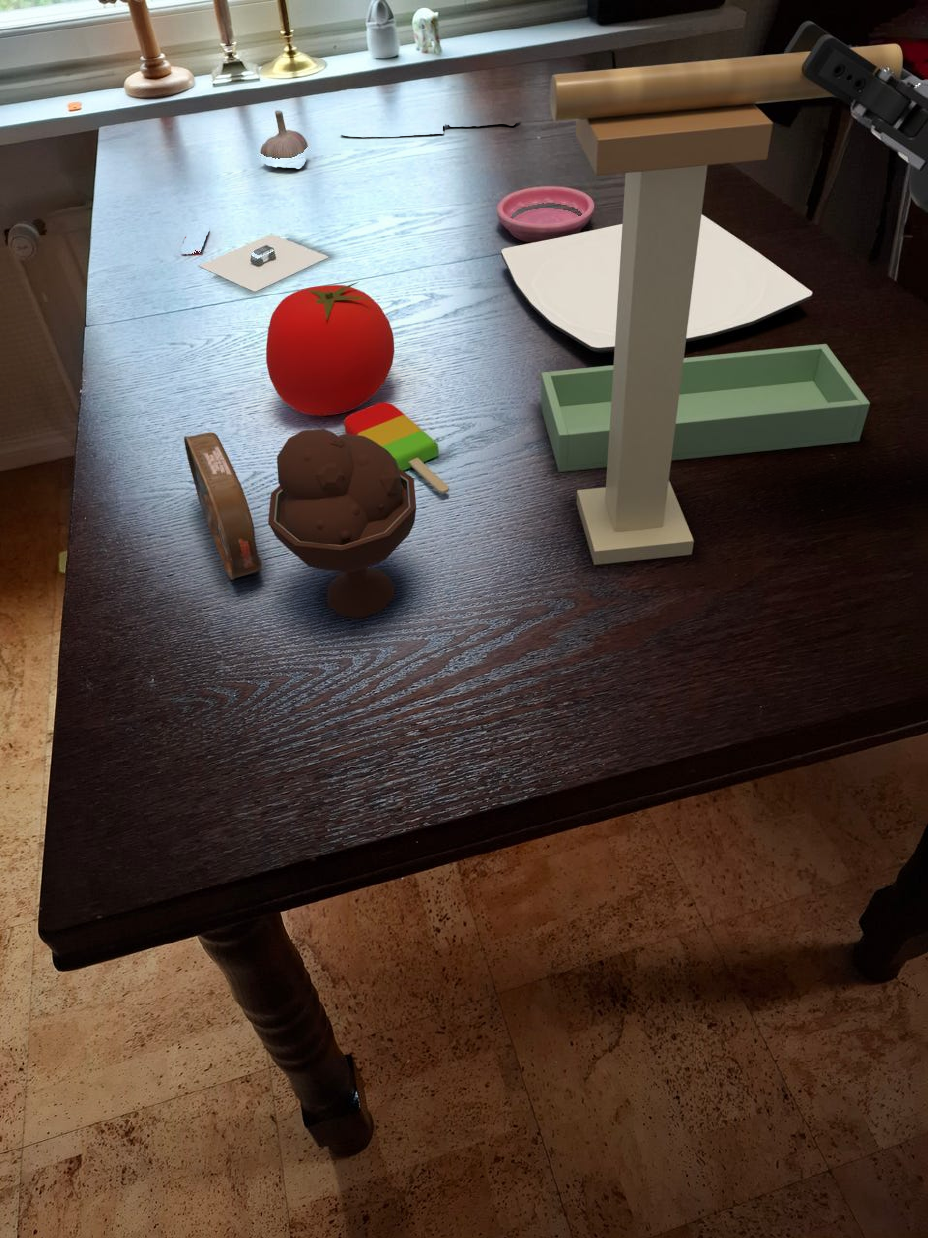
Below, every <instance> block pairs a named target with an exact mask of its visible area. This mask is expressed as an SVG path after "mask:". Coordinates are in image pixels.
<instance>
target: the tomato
mask: <svg viewBox="0 0 928 1238" xmlns="http://www.w3.org/2000/svg"><path fill="white" fill-rule="evenodd" d="M358 283H359V281H357V282H354V283H351V284H349V285H343V284H331V285H330V284H329V285H318V286H317V285H316V286H312V287H311V286H310V287H306V288H303V289H300V290H297V291H294V292H292V293H291V294H288V295H287V296H286V297H284V298H283V299H282V300H281V301H280V302H279V303H278V305H277V306H276V308H274V311H273V312H272V314H271V317H270V320H269V324H268V328H267V337H266V347H265V361H266V367H267V372H268V377H269V379H270V381H271V383H272V386H273V389H274V390H275V392H276V393H277V395H278V396H279V397H280V399H281V400H282V401H283V402H284V403H285V404H286V405H288V406H289V407H290V408H292V409H294V410H295V411H297V412H299V413H302V414H304V415H310V416H315V417H323V416H325V417H326V416H333V415H338V414H343V413H347V412H350V411H352V410H355V409H357V408H358V407H360V406H361V405H363V404H364V403H366V402H367V401H369V400H371V398H373V397H374V396H375V395H376V394H377V392H378V391H379V390H380V388H381V387H382V386H383V384H384V383H385V382H386V381H387V378H388V375H389V373H390V371H391V368H392V367H393V363H394V357H395V338H394V337H395V336H394V333H393V329H392V325H391V323H390V321H389V319H388V317H387V315H386V314H385V312H384V310H383V309H382V308H381V305H379V304H378V302H376V301H375V300H374V298H372V296H370V295H369V294H367V293H366V292H364V291H363V290H360V289H357V288H355V287H352V286H355V285H356V284H358Z"/></svg>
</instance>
